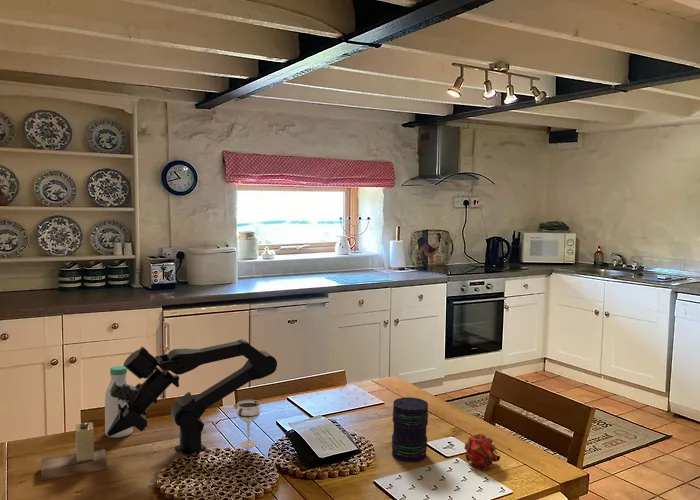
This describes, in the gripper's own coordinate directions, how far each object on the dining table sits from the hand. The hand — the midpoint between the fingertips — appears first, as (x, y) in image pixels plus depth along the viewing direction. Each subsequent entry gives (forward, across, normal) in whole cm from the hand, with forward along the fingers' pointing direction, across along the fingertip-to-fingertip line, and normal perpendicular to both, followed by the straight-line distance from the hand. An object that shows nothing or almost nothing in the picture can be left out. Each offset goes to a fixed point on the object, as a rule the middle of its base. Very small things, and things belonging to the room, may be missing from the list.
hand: (108, 435), depth 152 cm
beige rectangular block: (+7, 0, 0) cm, 7 cm away
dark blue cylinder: (-48, +29, +59) cm, 81 cm away
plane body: (+11, 0, 0) cm, 11 cm away
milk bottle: (+2, -20, +9) cm, 22 cm away
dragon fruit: (-59, +42, +70) cm, 100 cm away
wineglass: (-21, +3, +32) cm, 38 cm away
